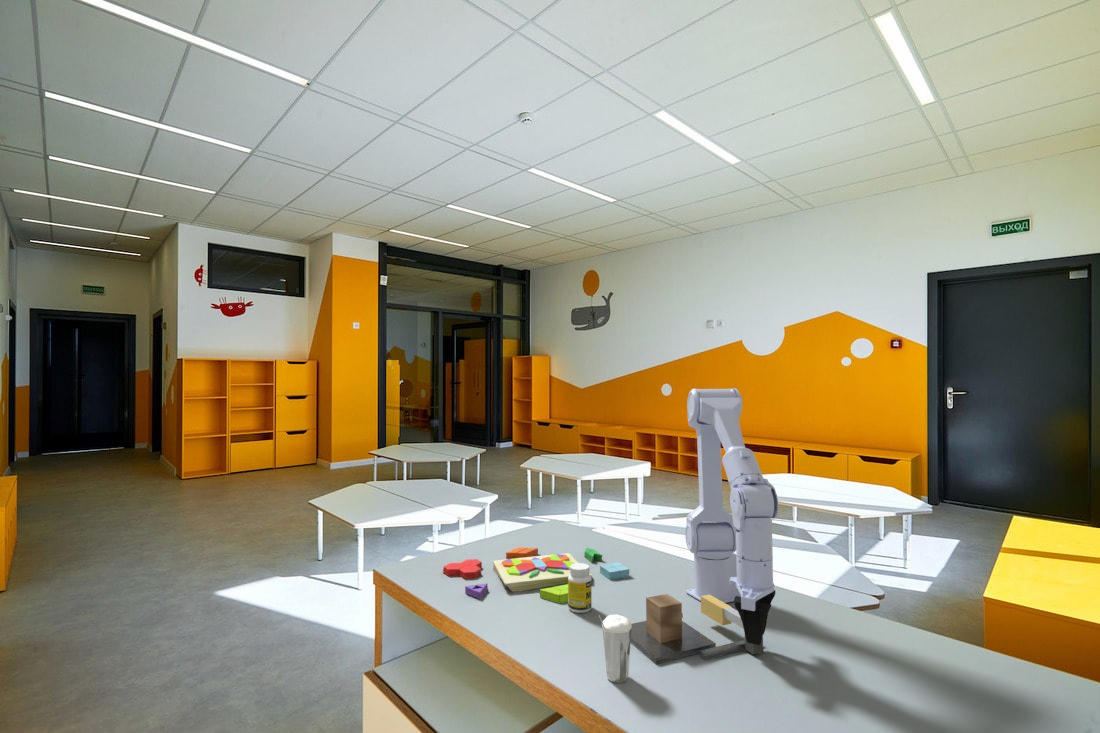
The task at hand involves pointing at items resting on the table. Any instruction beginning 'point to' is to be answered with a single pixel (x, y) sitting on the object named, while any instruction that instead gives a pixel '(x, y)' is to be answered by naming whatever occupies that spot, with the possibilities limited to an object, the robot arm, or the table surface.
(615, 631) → the milkshake
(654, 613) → the brown rectangular block
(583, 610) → the supplement bottle
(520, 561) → the pattern blocks set
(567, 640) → the table surface
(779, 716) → the table surface
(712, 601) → the lever with yellow grip
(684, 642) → the press base
